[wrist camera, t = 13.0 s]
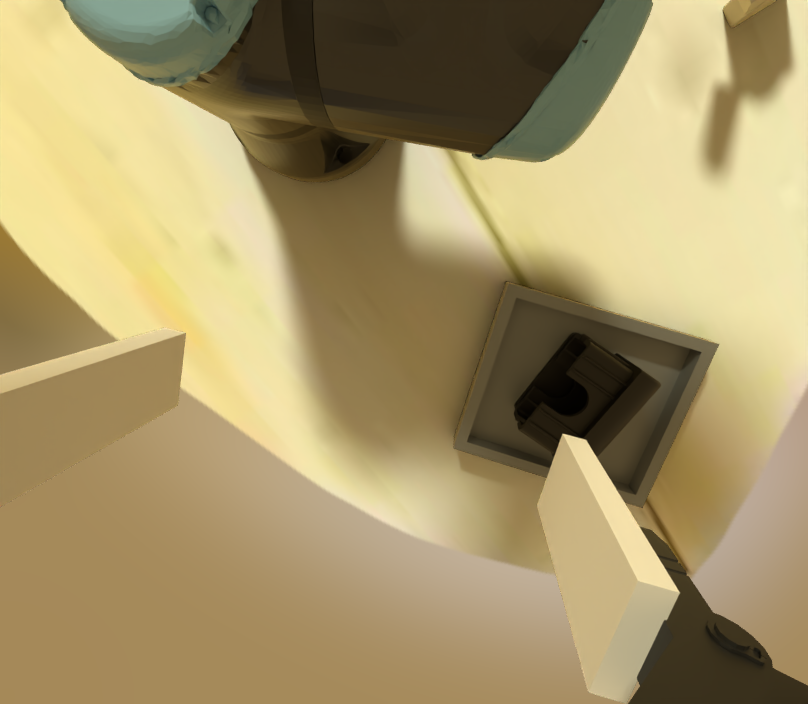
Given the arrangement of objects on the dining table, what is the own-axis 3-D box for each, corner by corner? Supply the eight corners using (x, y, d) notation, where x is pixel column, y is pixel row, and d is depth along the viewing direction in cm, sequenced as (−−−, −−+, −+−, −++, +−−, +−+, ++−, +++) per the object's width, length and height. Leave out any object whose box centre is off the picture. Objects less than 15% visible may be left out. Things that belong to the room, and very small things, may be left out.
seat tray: (453, 437, 45) (453, 448, 43) (505, 281, 41) (508, 283, 39) (632, 493, 44) (642, 507, 41) (702, 338, 40) (719, 344, 38)
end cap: (569, 452, 43) (588, 489, 37) (508, 410, 43) (516, 439, 36) (641, 370, 41) (676, 393, 34) (577, 325, 40) (599, 339, 34)
